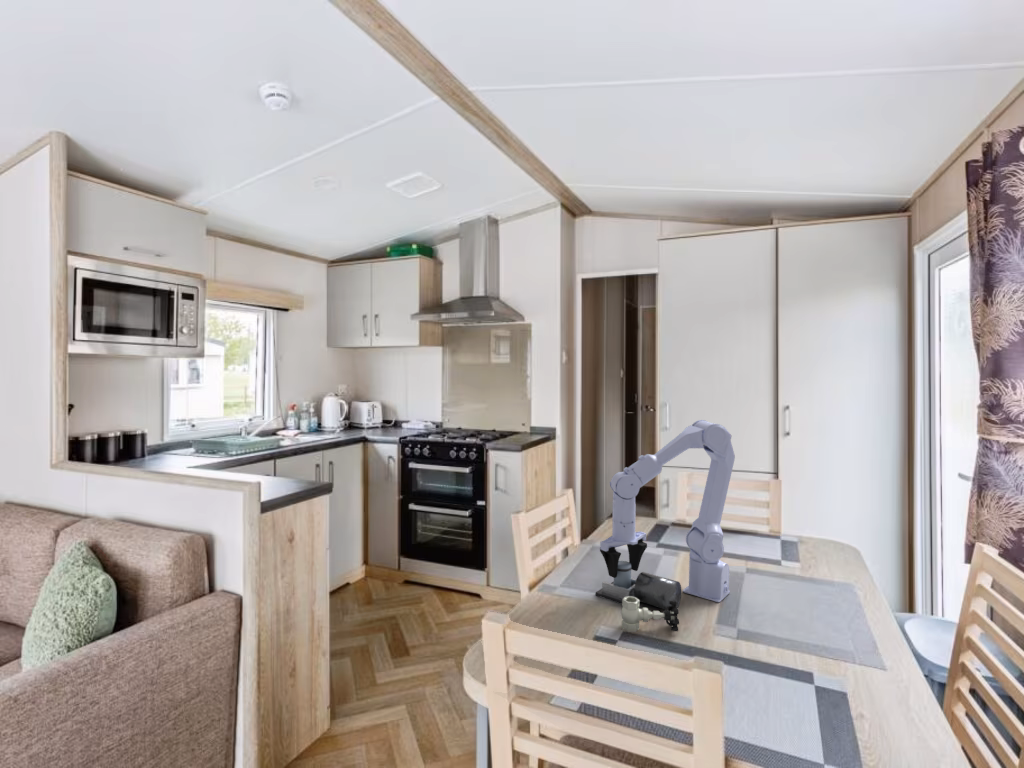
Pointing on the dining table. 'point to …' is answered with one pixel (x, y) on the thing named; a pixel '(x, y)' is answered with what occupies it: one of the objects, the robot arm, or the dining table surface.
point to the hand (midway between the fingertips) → (623, 573)
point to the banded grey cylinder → (623, 574)
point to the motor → (645, 590)
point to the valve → (646, 614)
